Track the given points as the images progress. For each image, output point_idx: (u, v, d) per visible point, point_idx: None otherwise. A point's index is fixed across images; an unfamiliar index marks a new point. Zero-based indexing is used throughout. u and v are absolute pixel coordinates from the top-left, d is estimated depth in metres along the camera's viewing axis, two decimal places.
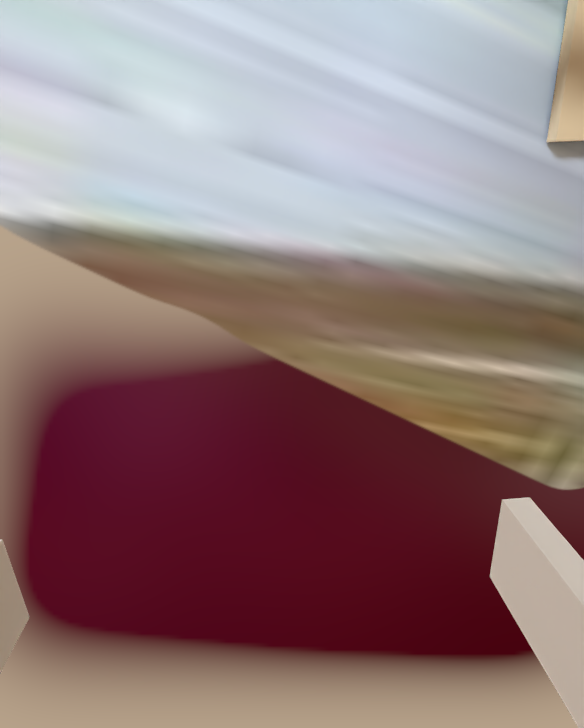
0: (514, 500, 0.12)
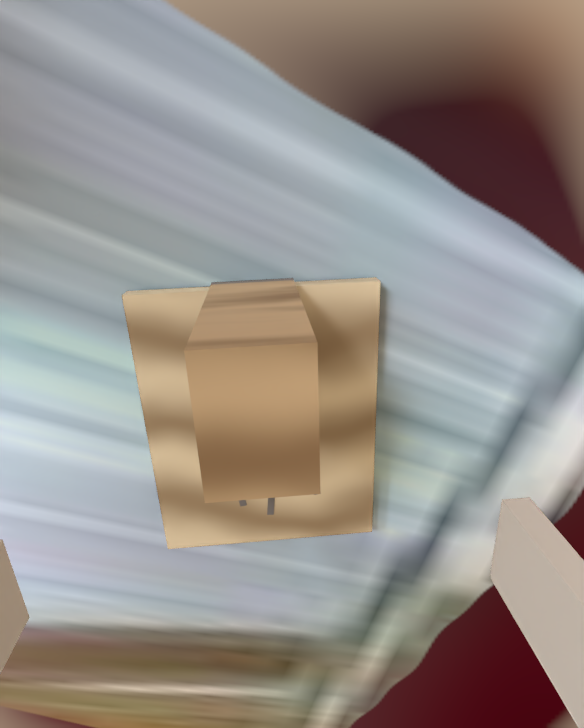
0: (514, 500, 0.12)
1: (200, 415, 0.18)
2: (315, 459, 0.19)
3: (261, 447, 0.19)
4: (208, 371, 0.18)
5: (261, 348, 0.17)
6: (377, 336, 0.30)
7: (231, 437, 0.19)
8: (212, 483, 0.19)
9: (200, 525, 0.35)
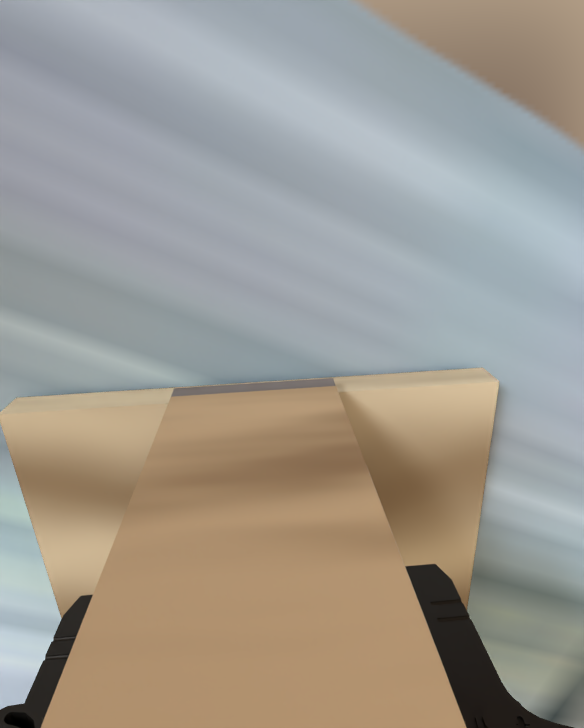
0: None
1: None
2: None
3: None
4: None
5: None
6: (484, 475, 0.17)
7: None
8: None
9: None
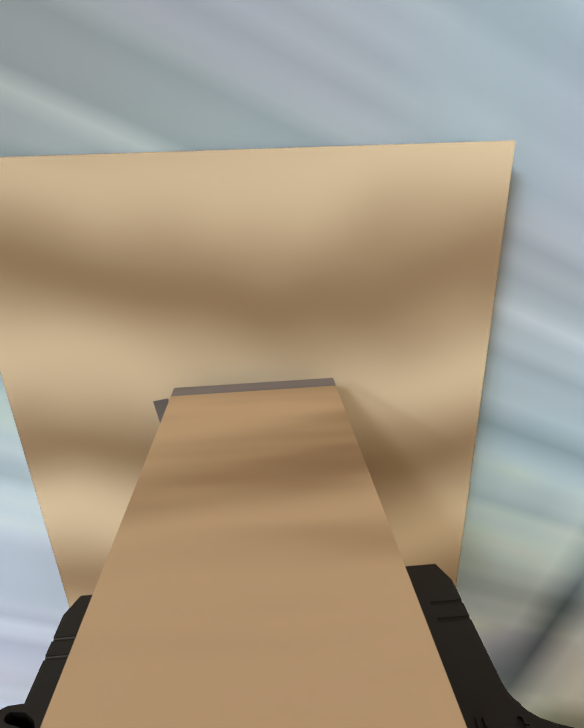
0: None
1: None
2: None
3: None
4: None
5: None
6: (496, 268, 0.15)
7: None
8: None
9: None
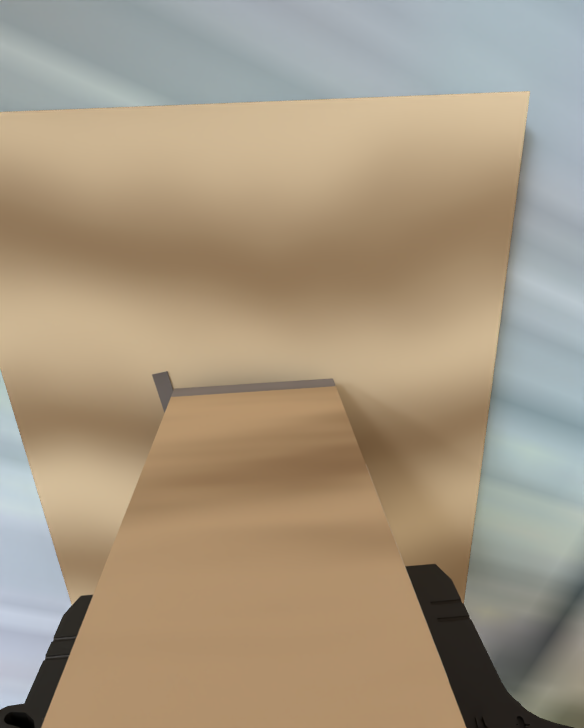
0: None
1: None
2: None
3: None
4: None
5: None
6: (509, 230, 0.14)
7: None
8: None
9: None
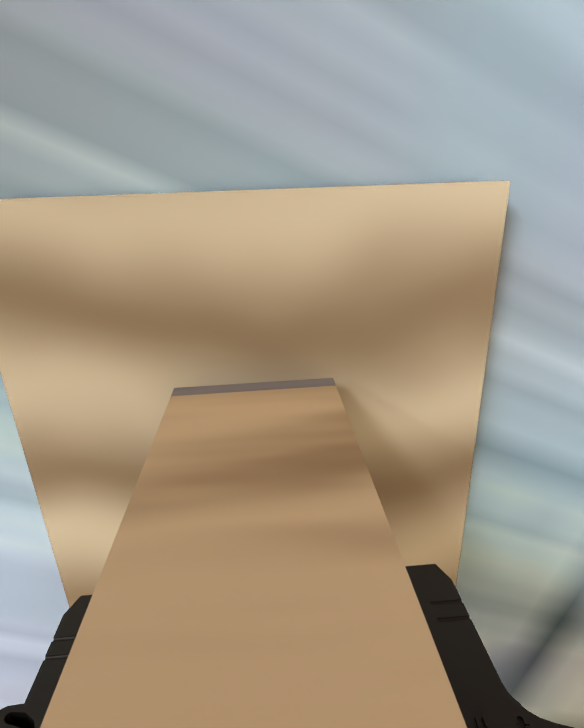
0: None
1: None
2: None
3: None
4: None
5: None
6: (492, 301, 0.15)
7: None
8: None
9: None
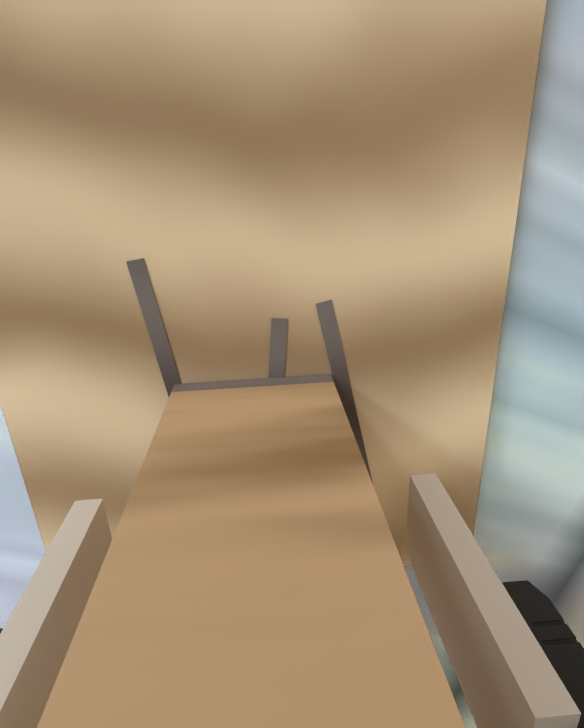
0: (421, 475, 0.13)
1: None
2: None
3: None
4: None
5: None
6: (531, 91, 0.12)
7: None
8: None
9: None
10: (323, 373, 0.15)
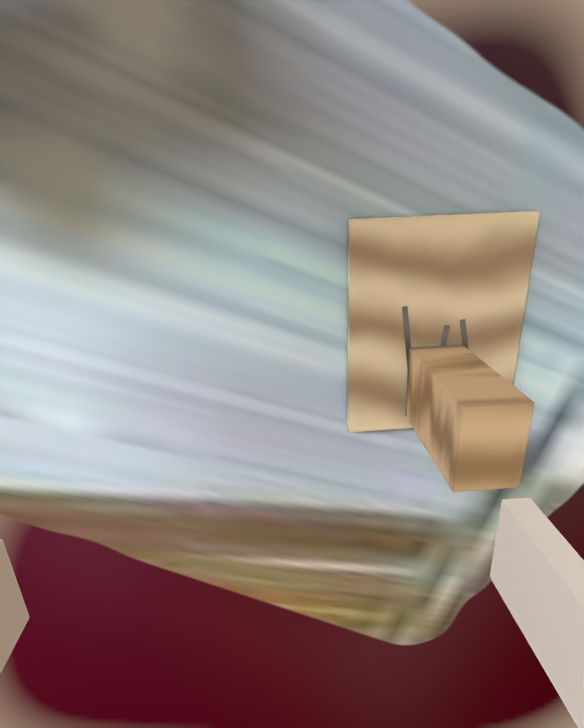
0: (514, 500, 0.12)
1: (463, 442, 0.32)
2: (520, 466, 0.34)
3: (492, 460, 0.33)
4: (473, 418, 0.32)
5: (504, 406, 0.32)
6: (532, 255, 0.40)
7: (477, 454, 0.33)
8: (460, 480, 0.34)
9: (377, 412, 0.45)
10: (459, 344, 0.43)
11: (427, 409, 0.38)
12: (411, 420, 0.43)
